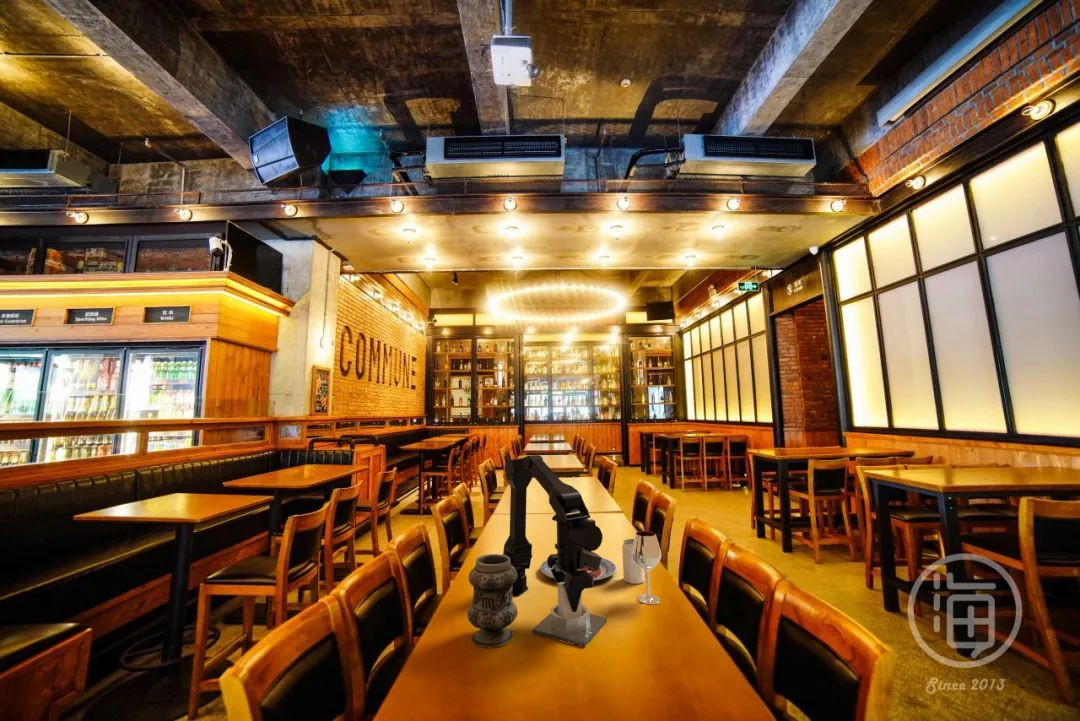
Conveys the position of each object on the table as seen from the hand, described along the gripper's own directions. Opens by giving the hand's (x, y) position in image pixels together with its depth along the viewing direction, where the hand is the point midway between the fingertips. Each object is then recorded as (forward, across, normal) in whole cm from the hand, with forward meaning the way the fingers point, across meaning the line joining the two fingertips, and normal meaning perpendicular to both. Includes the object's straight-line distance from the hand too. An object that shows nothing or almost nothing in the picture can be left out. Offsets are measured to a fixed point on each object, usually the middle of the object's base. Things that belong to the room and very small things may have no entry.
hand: (569, 606), depth 107 cm
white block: (+4, 0, 0) cm, 4 cm away
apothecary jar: (+5, +1, +19) cm, 20 cm away
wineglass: (+5, +8, -27) cm, 29 cm away
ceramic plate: (+6, +35, -16) cm, 39 cm away
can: (+5, +23, -30) cm, 38 cm away
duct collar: (+5, 0, 0) cm, 5 cm away
